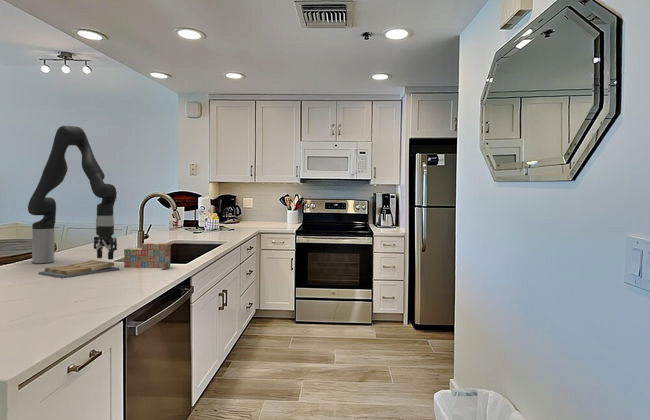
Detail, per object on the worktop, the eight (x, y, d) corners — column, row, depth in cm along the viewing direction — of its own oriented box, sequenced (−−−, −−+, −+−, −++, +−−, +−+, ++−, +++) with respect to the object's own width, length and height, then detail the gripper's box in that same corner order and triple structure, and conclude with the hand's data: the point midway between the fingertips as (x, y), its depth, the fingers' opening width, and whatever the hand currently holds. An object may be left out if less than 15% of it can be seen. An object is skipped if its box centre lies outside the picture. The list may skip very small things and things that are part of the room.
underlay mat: (38, 274, 180) (38, 272, 180) (95, 266, 203) (95, 264, 203) (62, 278, 171) (62, 275, 171) (119, 269, 194) (119, 267, 194)
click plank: (68, 268, 191) (68, 264, 191) (91, 262, 201) (91, 259, 200) (91, 271, 182) (91, 268, 182) (114, 265, 192) (114, 262, 192)
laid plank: (45, 271, 182) (45, 268, 182) (67, 268, 190) (67, 265, 190) (68, 274, 173) (68, 271, 173) (90, 271, 182) (90, 268, 182)
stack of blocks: (123, 267, 201) (123, 243, 201) (130, 265, 207) (130, 242, 207) (165, 268, 200) (165, 243, 199) (170, 266, 206) (170, 242, 206)
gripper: (88, 225, 193) (88, 258, 193) (106, 225, 186) (106, 260, 186) (103, 224, 199) (103, 257, 200) (121, 225, 193) (121, 258, 193)
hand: (105, 258), depth 193 cm, fingers open, 8 cm apart
